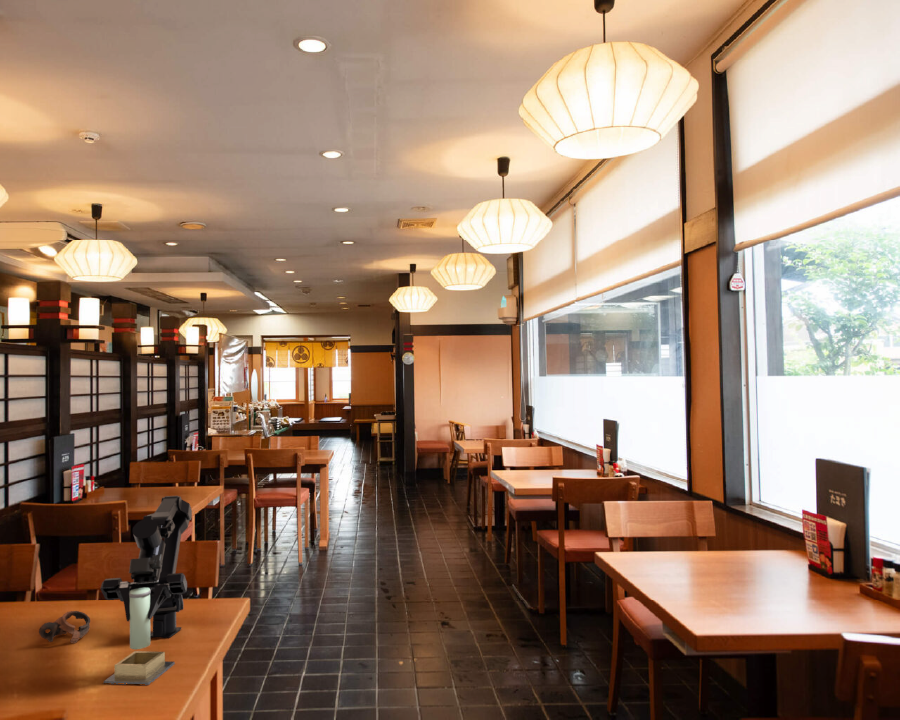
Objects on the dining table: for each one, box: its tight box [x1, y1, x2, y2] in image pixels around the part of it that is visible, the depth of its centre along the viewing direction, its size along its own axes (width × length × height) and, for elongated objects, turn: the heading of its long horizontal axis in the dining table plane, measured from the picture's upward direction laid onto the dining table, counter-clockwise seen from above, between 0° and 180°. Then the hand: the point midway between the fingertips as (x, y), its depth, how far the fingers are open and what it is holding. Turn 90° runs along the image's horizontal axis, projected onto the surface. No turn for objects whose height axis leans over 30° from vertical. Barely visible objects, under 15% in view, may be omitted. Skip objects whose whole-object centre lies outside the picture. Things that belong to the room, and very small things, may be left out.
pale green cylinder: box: [129, 588, 151, 650], centre depth 152 cm, size 5×5×13 cm
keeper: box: [103, 650, 176, 686], centre depth 151 cm, size 11×11×4 cm
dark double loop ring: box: [38, 610, 91, 644], centre depth 173 cm, size 12×10×8 cm
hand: (138, 619), depth 150 cm, fingers closed on pale green cylinder, 4 cm apart
